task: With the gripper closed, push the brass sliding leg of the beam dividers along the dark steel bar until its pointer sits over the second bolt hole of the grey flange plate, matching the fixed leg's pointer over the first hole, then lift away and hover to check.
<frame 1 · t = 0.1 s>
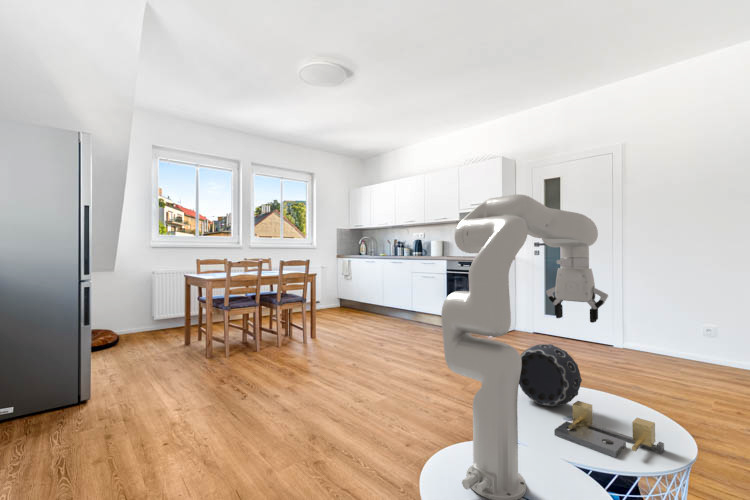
hand: (575, 319, 109), 31 cm above the table, tool pointing down, fingers open, 9 cm apart
flange plate: (589, 440, 98), on the table
sliding leg: (640, 436, 93), point 4 cm above the table, slide at 0.0 cm
dark grey wheel: (547, 404, 122), on the table
dividers bar: (617, 437, 99), on the table
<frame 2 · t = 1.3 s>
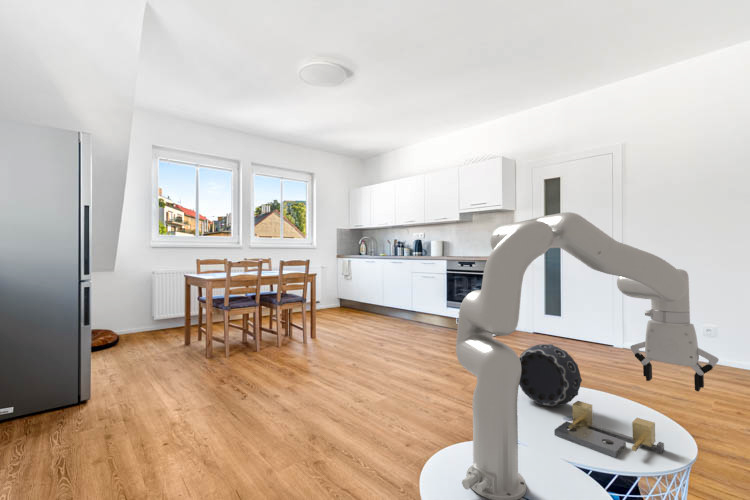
hand: (672, 384, 91), 18 cm above the table, tool pointing down, fingers open, 9 cm apart
nothing on the table moved.
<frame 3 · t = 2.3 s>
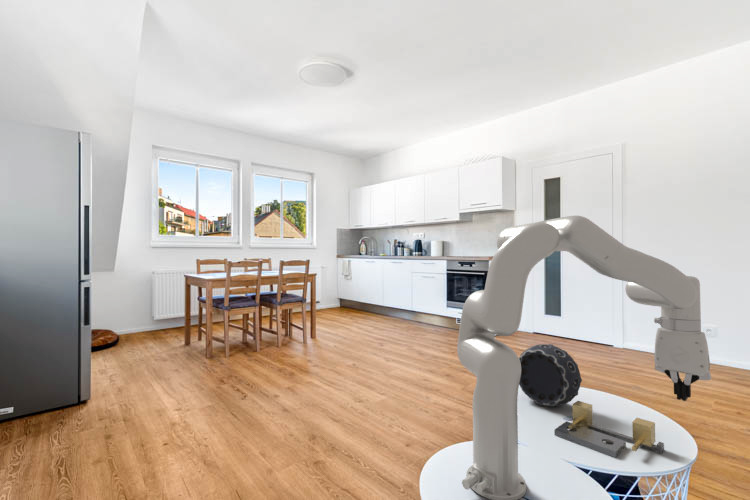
hand: (682, 398, 89), 15 cm above the table, tool pointing down, fingers closed
nothing on the table moved.
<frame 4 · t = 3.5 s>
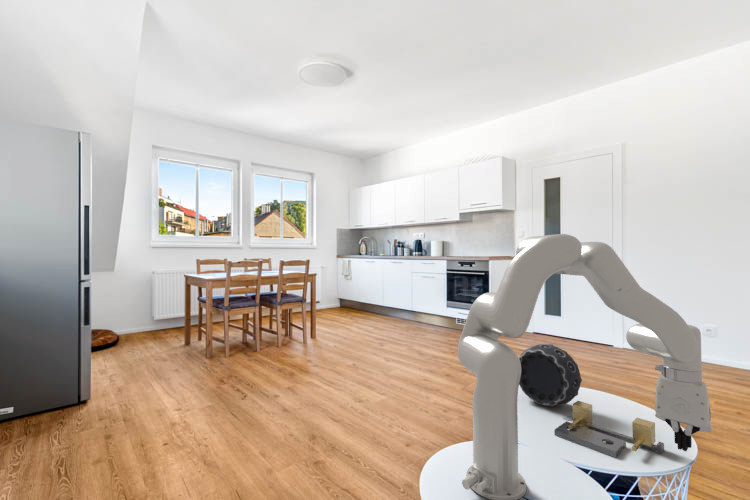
hand: (683, 448, 89), 3 cm above the table, tool pointing down, fingers closed
nothing on the table moved.
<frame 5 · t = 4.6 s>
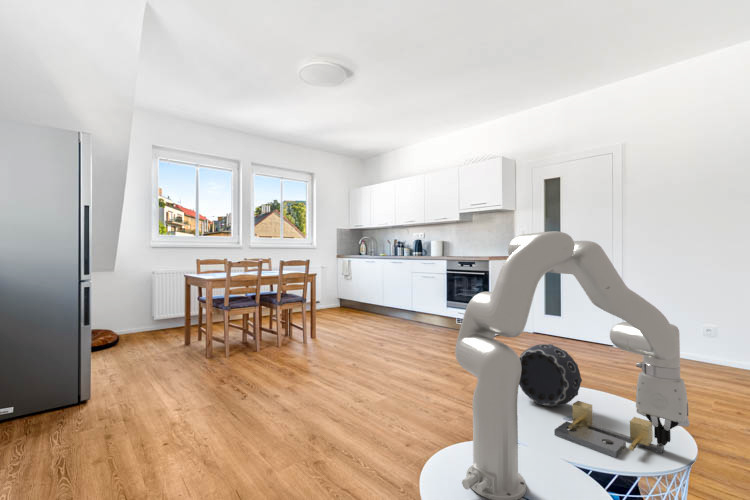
hand: (662, 442, 92), 3 cm above the table, tool pointing down, fingers closed
sliding leg: (637, 435, 93), point 4 cm above the table, slide at 0.6 cm, touching gripper
everything else where it was.
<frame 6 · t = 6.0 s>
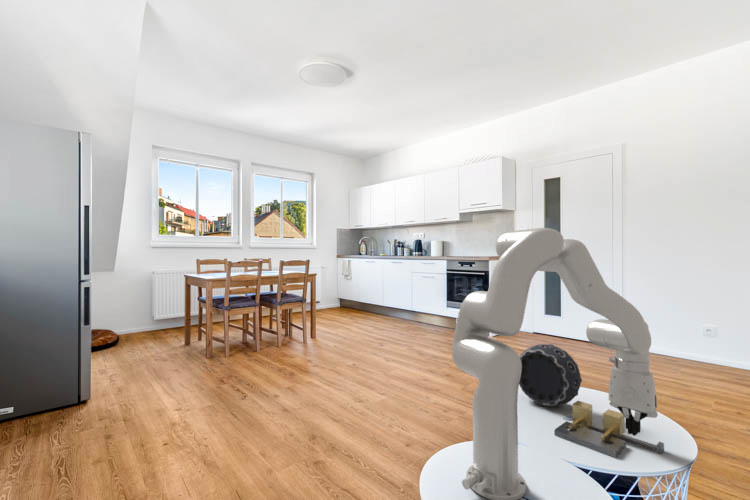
hand: (633, 433, 97), 3 cm above the table, tool pointing down, fingers closed
sliding leg: (609, 426, 98), point 4 cm above the table, slide at 6.9 cm, touching gripper
everything else where it was.
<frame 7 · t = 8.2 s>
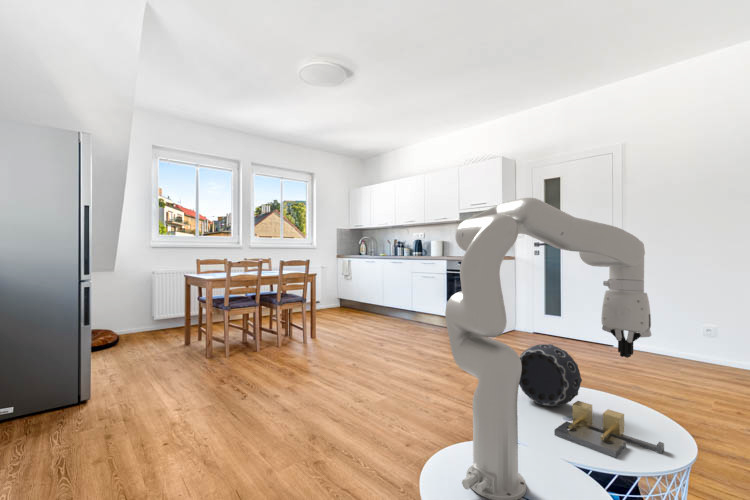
hand: (625, 356, 94), 24 cm above the table, tool pointing down, fingers closed
sliding leg: (609, 426, 98), point 4 cm above the table, slide at 7.0 cm
everything else where it was.
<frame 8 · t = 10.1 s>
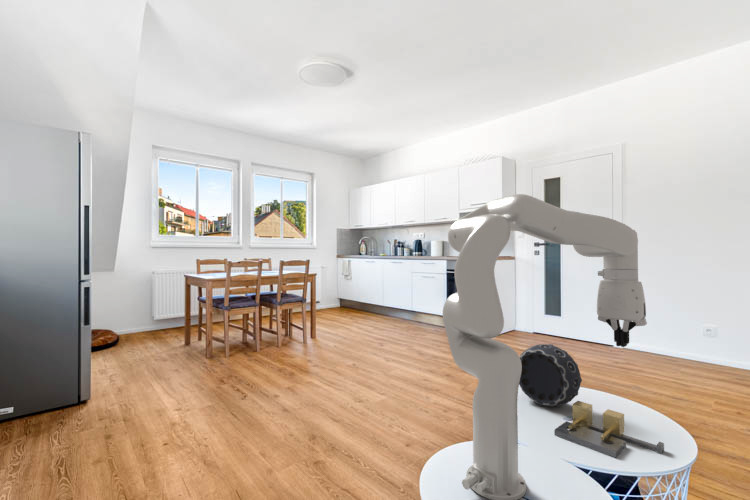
hand: (621, 345, 94), 27 cm above the table, tool pointing down, fingers closed
nothing on the table moved.
at the end: sliding leg slide at 7.0 cm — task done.
